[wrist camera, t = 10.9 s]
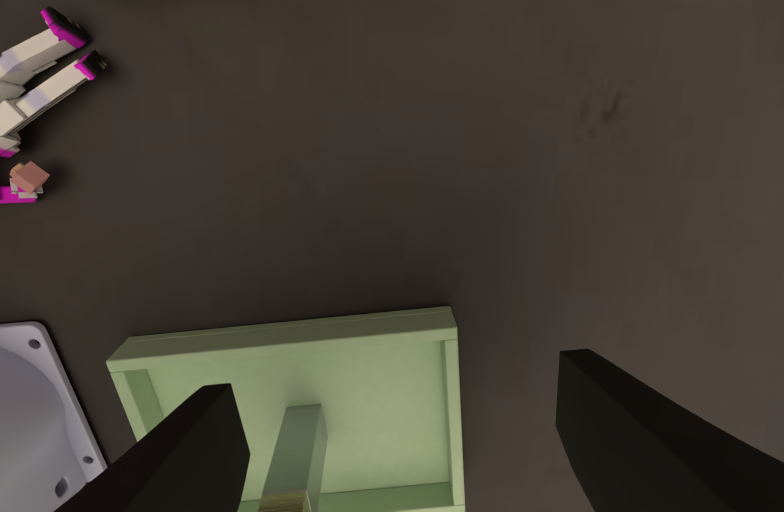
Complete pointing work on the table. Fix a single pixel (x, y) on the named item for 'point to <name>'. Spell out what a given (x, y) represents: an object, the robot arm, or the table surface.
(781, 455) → the table surface
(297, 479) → the tall bottle
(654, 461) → the robot arm
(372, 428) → the tray
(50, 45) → the character figurine
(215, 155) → the table surface
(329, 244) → the table surface
